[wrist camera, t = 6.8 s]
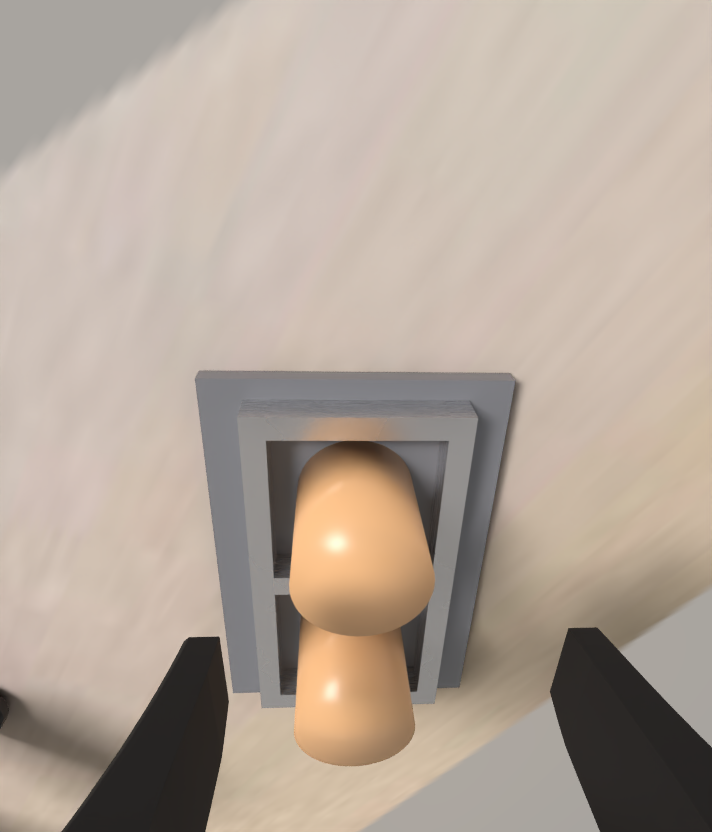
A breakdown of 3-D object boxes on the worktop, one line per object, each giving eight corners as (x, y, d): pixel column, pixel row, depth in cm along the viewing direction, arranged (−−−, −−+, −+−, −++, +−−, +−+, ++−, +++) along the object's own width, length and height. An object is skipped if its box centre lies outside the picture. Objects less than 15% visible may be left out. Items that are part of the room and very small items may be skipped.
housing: (509, 373, 18) (572, 457, 13) (456, 675, 25) (485, 797, 20) (199, 370, 17) (152, 457, 13) (235, 680, 24) (214, 807, 20)
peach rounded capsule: (419, 442, 18) (445, 530, 14) (405, 535, 20) (424, 637, 16) (298, 437, 18) (290, 526, 14) (296, 532, 20) (288, 635, 16)
